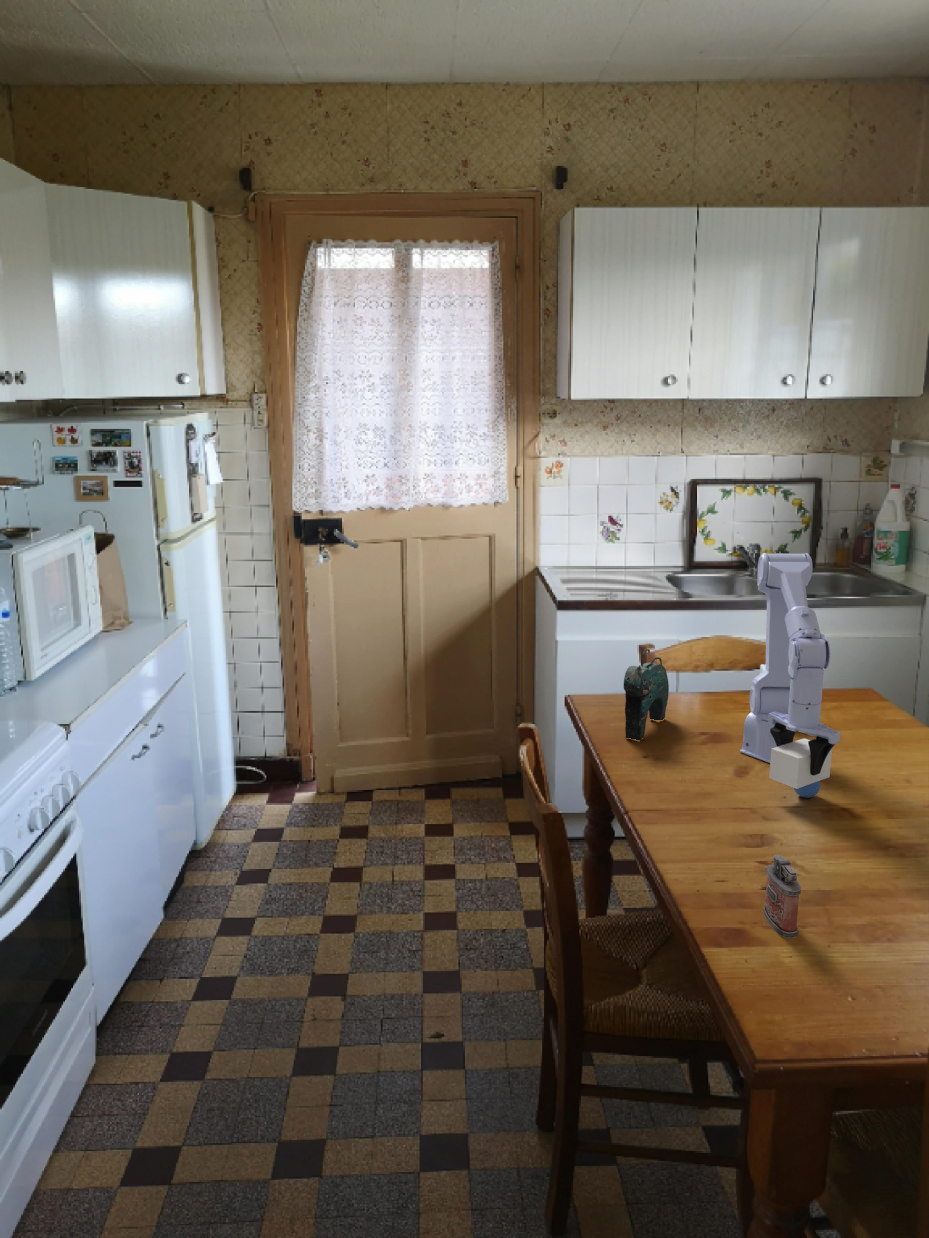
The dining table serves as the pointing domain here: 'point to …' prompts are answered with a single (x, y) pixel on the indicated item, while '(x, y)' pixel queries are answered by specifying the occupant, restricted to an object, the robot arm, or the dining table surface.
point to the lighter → (782, 897)
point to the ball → (808, 790)
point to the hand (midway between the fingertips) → (799, 768)
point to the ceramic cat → (644, 696)
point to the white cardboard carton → (796, 764)
